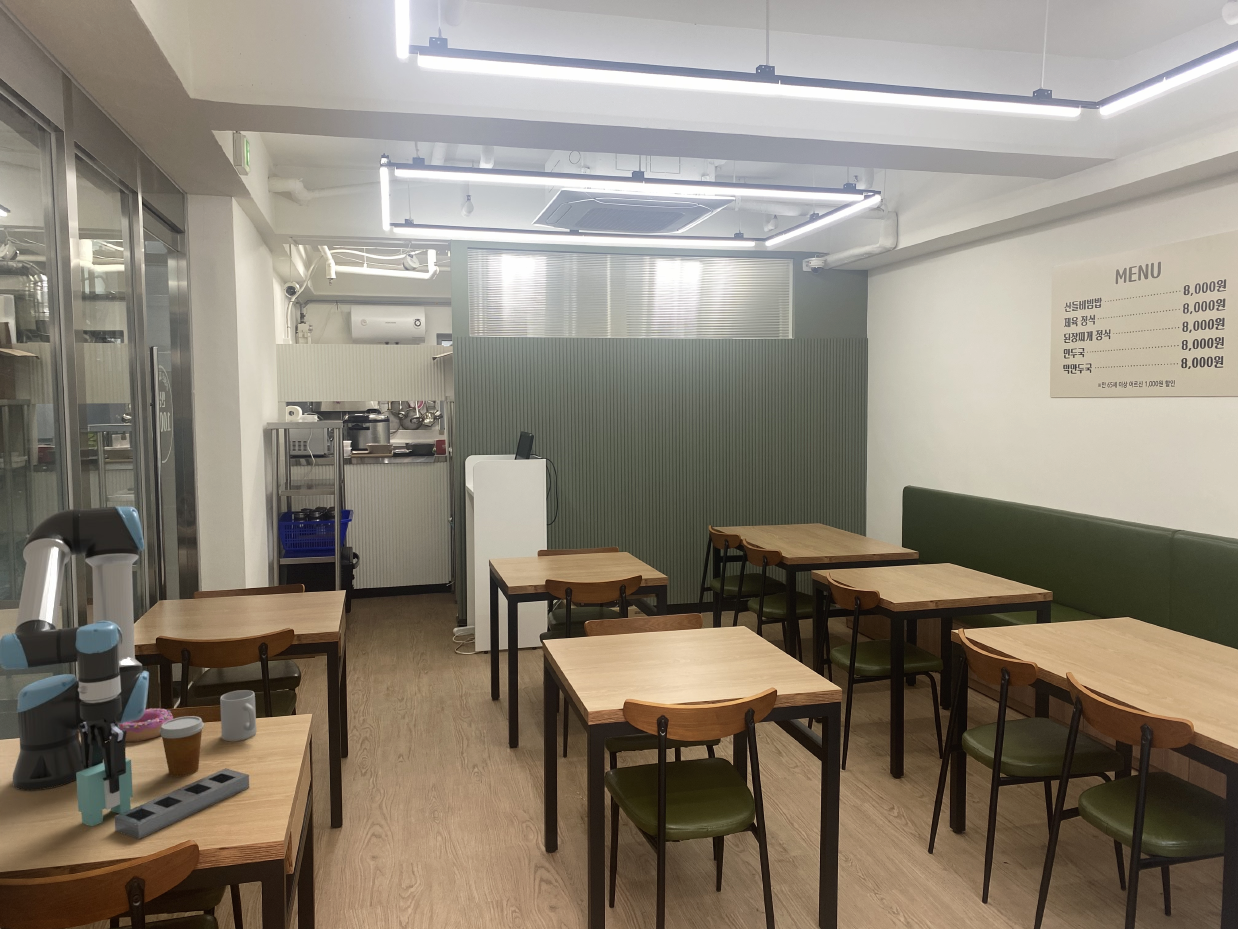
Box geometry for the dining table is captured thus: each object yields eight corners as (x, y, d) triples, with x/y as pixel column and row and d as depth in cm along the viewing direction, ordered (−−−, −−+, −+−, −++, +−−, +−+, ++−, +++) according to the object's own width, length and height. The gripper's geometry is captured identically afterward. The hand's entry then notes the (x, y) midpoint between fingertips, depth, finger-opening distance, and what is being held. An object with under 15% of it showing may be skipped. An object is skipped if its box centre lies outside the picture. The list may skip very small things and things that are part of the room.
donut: (185, 727, 230) (184, 709, 229) (139, 747, 216) (138, 728, 216) (147, 721, 235) (146, 704, 235) (100, 740, 221) (99, 721, 221)
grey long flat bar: (115, 830, 172) (114, 816, 172) (226, 780, 195) (225, 768, 195) (139, 839, 168) (138, 825, 168) (249, 787, 191) (248, 774, 191)
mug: (215, 736, 222) (213, 696, 221) (246, 727, 229) (244, 687, 228) (238, 747, 215) (236, 705, 214) (269, 736, 222) (267, 696, 221)
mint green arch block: (79, 823, 175) (76, 772, 174) (122, 805, 183) (119, 756, 183) (90, 827, 173) (87, 776, 173) (133, 809, 181) (130, 759, 181)
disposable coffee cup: (187, 781, 195) (184, 731, 194) (152, 778, 197) (149, 728, 196) (214, 764, 204) (212, 716, 203) (180, 761, 206) (178, 714, 205)
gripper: (58, 696, 177) (64, 803, 179) (106, 709, 169) (112, 820, 171) (94, 686, 184) (100, 789, 185) (142, 697, 176) (147, 805, 177)
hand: (106, 804), depth 178 cm, fingers closed on mint green arch block, 4 cm apart
